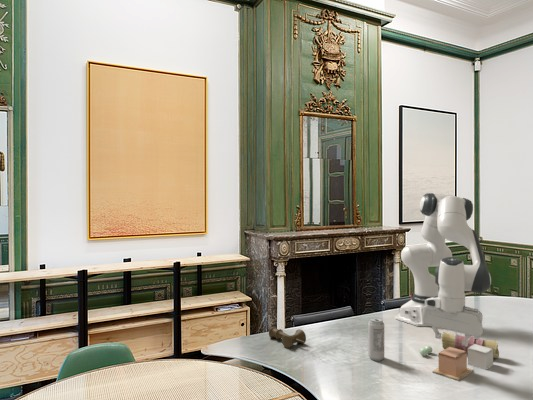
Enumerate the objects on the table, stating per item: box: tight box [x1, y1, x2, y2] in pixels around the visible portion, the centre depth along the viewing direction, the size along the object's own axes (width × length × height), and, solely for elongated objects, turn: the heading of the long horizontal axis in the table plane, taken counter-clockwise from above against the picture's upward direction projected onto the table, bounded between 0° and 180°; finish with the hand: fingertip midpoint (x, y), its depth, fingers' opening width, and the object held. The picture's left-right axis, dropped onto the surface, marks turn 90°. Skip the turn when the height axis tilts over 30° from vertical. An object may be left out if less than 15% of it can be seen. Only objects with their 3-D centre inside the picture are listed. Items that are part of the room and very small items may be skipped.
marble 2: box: [424, 345, 433, 355], centre depth 158 cm, size 3×3×3 cm
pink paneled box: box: [438, 347, 468, 377], centre depth 141 cm, size 6×9×6 cm, turn 131°
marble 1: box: [419, 347, 428, 357], centre depth 155 cm, size 3×3×3 cm
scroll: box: [441, 332, 500, 359], centre depth 158 cm, size 8×8×20 cm
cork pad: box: [432, 367, 474, 382], centre depth 141 cm, size 9×12×1 cm
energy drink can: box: [367, 317, 385, 362], centre depth 153 cm, size 6×6×15 cm
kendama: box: [268, 326, 307, 350], centre depth 170 cm, size 6×10×20 cm
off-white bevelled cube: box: [467, 344, 494, 370], centre depth 147 cm, size 6×6×6 cm
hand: (451, 341), depth 141 cm, fingers open, 8 cm apart
